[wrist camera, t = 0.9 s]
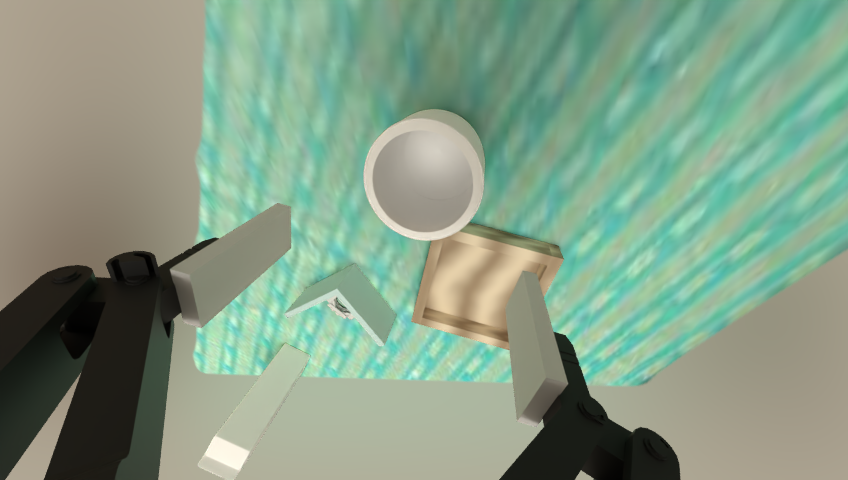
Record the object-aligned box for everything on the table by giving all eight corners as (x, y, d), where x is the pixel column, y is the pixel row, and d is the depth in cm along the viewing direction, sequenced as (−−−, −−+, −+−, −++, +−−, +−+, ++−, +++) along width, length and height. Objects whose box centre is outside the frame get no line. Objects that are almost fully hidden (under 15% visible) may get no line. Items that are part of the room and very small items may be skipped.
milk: (285, 342, 63) (196, 457, 44) (311, 355, 63) (235, 475, 44) (279, 358, 66) (193, 472, 47) (304, 370, 66) (229, 489, 47)
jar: (479, 192, 40) (476, 247, 27) (403, 184, 41) (366, 234, 28) (491, 104, 35) (493, 121, 22) (404, 100, 36) (358, 113, 23)
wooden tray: (558, 246, 41) (563, 259, 38) (513, 335, 50) (514, 351, 47) (439, 214, 42) (435, 224, 39) (415, 307, 52) (411, 321, 48)
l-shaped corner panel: (308, 285, 55) (283, 314, 48) (356, 261, 50) (337, 288, 43) (348, 331, 58) (331, 363, 52) (397, 312, 54) (384, 344, 47)
